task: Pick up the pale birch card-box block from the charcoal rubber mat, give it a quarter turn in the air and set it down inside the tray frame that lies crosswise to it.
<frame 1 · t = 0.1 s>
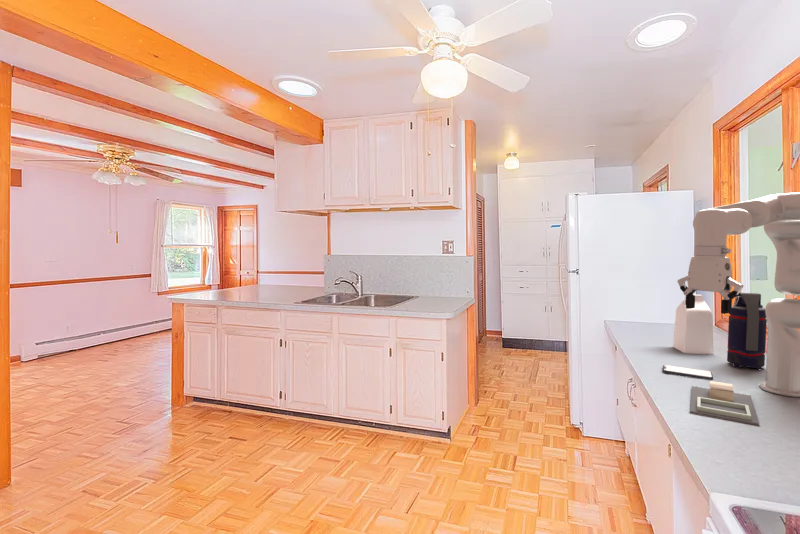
hand: (707, 310, 125), 31 cm above the countertop, tool pointing down, fingers open, 9 cm apart
milk: (692, 350, 199), on the countertop
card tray: (722, 411, 129), resting on mat
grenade: (745, 367, 174), on the countertop
mat: (721, 404, 134), on the countertop
smartphone: (686, 375, 165), on the countertop
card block: (721, 396, 139), point 1 cm above the countertop, touching mat
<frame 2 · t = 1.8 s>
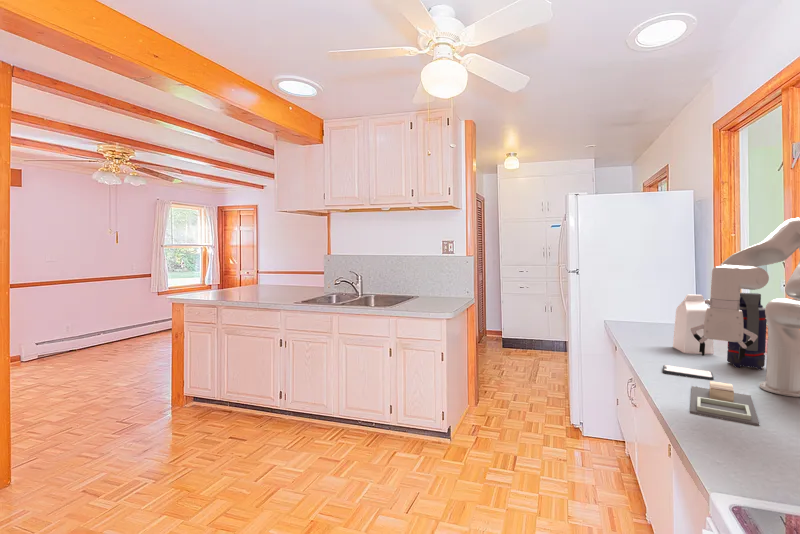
hand: (721, 357, 138), 14 cm above the countertop, tool pointing down, fingers open, 9 cm apart
nothing on the countertop moved.
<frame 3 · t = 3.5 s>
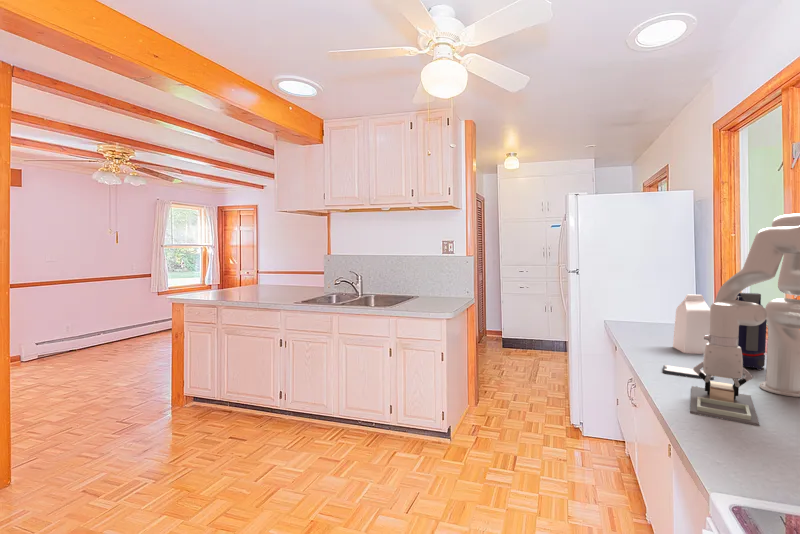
hand: (721, 395, 139), 1 cm above the countertop, tool pointing down, fingers closed on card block, 6 cm apart
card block: (721, 396, 139), point 1 cm above the countertop, touching gripper, mat
everything else where it was.
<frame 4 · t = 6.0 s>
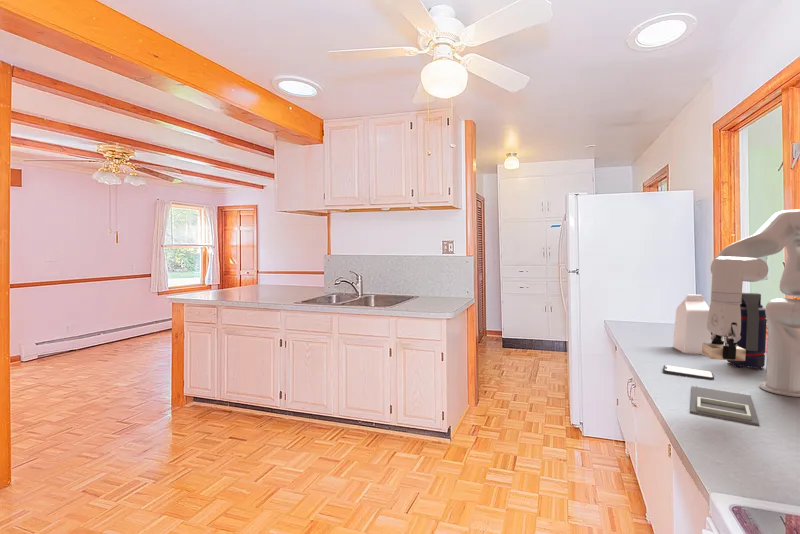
hand: (723, 355, 132), 16 cm above the countertop, tool pointing down, fingers closed on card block, 6 cm apart
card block: (722, 357, 132), point 15 cm above the countertop, touching gripper
everything else where it was.
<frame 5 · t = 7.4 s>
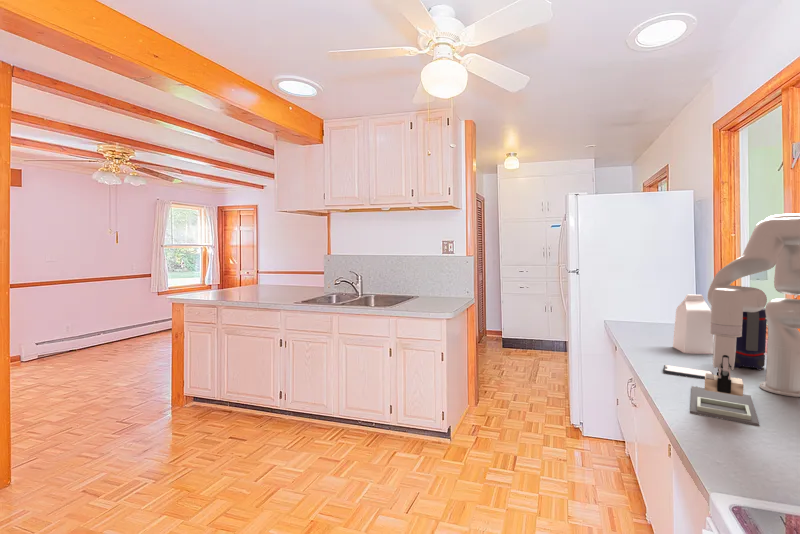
hand: (723, 388, 129), 7 cm above the countertop, tool pointing down, fingers closed on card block, 6 cm apart
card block: (723, 390, 129), point 7 cm above the countertop, touching gripper
everything else where it was.
when the fingers open (3 cm above the countertop, at t = 8.5 s): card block drops 2 cm, resting on mat.
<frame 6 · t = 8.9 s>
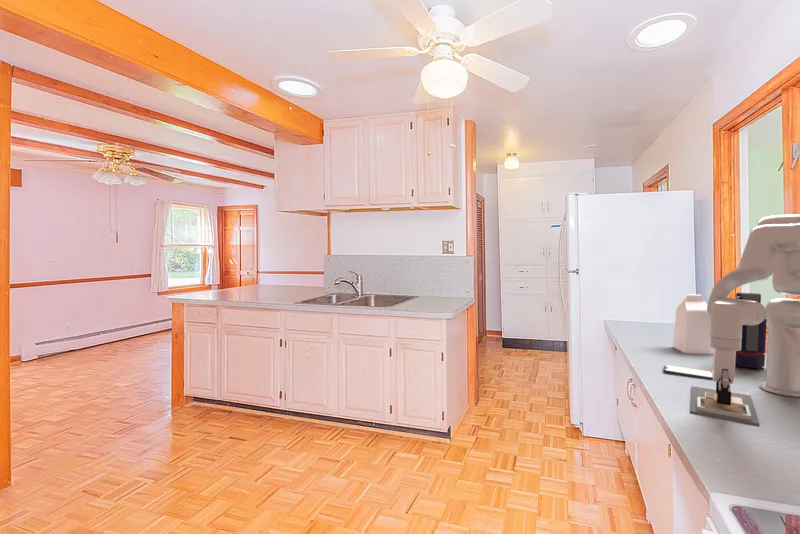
hand: (723, 398, 129), 4 cm above the countertop, tool pointing down, fingers open, 9 cm apart
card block: (722, 409, 129), point 1 cm above the countertop, touching mat
everything else where it was.
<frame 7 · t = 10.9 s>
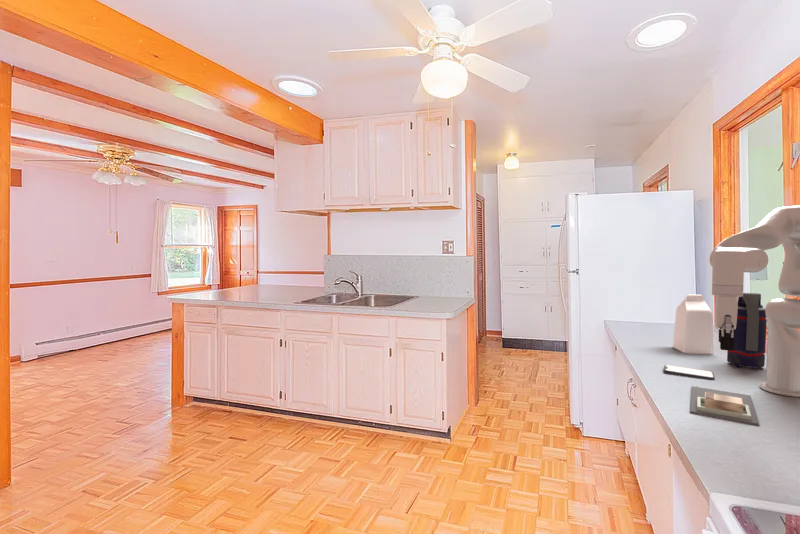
hand: (725, 346, 130), 19 cm above the countertop, tool pointing down, fingers open, 9 cm apart
nothing on the countertop moved.
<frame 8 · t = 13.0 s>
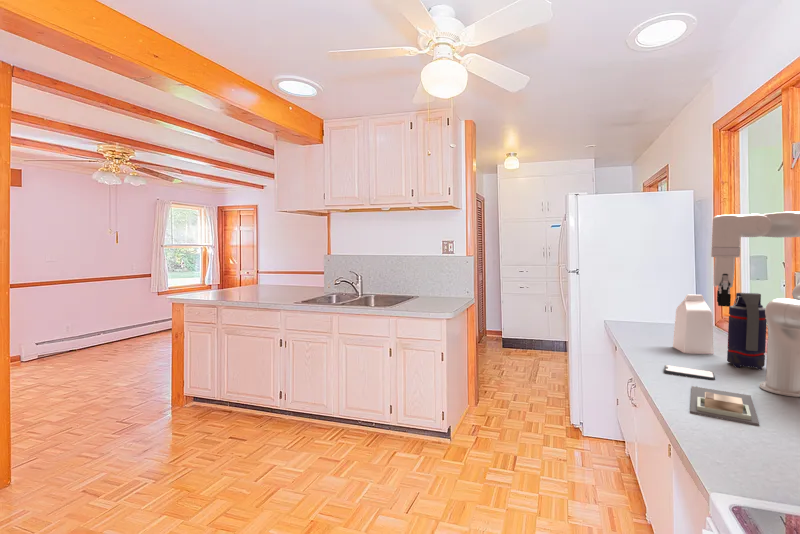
hand: (723, 304, 142), 30 cm above the countertop, tool pointing down, fingers open, 9 cm apart
nothing on the countertop moved.
at the end: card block 0.2 cm off-centre on the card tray, point 0.6 cm above the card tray's base; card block tilted 0°; the gripper is holding nothing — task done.
